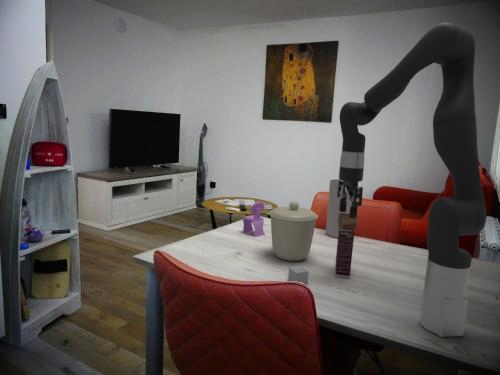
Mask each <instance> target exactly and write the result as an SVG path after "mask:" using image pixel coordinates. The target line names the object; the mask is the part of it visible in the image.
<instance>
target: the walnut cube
mask: <svg viewBox="0 0 500 375" xmlns="http://www.w3.org/2000/svg"><path fill="white" fill-rule="evenodd" d="M349 214H350V213H339V216H338V227H340V228H341V229H342V230H354V231H356V229H357V224H358V223H357V221H358V216H357V217H356V218H350V217H349Z"/></svg>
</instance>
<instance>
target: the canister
mask: <svg viewBox="0 0 500 375" xmlns="http://www.w3.org/2000/svg"><path fill="white" fill-rule="evenodd" d="M268 215H269V216H270V230H271V244H272V245H271V246H272V250H273V251H272V252H273V254H274V256H276V257H277V258H279V259H281V260H284V261H290V262H292V261H293V262H297V261H303V260H305V259H307V258H308V256H309V254H310V252H311V248H312V243H313V238H314V232H315V228H316V223H317V222H316V221H317V219H318V218H319V215H318V214H317V213H315V212H314V211H313V210H311V209H308V208H305V207H300V205H299V202H298V201H290V202H289V204H288V206H279V207H275V208H273V209H272V210H270V211H269V212H268Z"/></svg>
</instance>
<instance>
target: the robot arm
mask: <svg viewBox="0 0 500 375" xmlns="http://www.w3.org/2000/svg"><path fill="white" fill-rule="evenodd" d="M475 40H476V39H475V36H474V35H473V33H471V31H469V29H466V28H464V27H462V26H459V25H457V24H454V23H451V22H445V21H444V22H440V23H438V24H436V25H434V26H433V27H431V29H430V30H428V31H427V32H426V33H425V34H424V35H423V36H422V37H421V38H420V39H419V40H418V41H417V43H416V44H415V45H414V46H413V47H412V48H411V50H409V51H408V53H407V54H405V56H404V57H403V58H402V59H401V60H400V61H399V63H397V64H396V66H395V67H393V69H392V70H391V71H389V73H388V74H386V75H385V76H384V77H383V78H382V79H381V80H379V81H378V82H377V83H375V84H373V86H372V87H370V88H369V89H368V90H367V91H366V92H365V93H364V97H363V101H362V102H355V101H348V102H345V103H344V104H343V105H342V107H341V109H340V112H339V124H340V130H341V135H342V136H341V137H342V143H341V144H342V146H341V155H340V159H339V168H338V169H339V171H338V179H340V180H342V181H339V183H338V192H337V197H338V198H339V200H340V206H339V211H340V212H346V205H347V201H346V200H347V199H348V200H349V201H350V214H349V217H350V218H356V217H357V218H358V208H359V207H361V206H362V205H363V193H364V192H363V191H364V188H363V186H359V184H358V182H362V181H363V178H364V168H365V151H366V150H365V149H366V136H365V134H363V133H360V132H359V126H365V125H369V124H370V123H371V122H372V121H374V119H375V118H376V117H377V116H378V115H379V114H380V112H382V111H383V109H384V108H386V107H387V106H388V105H390V104H391V103H394V101H395V100H397V99H398V98H399V97H400V96H401V95H402V94H403V93H404V92H405V90H406V89H407V87H408V85H410V83H411V81H412V79H413V78H414V77H415V76H416V75H417V74H418V73H419V72H421V71H422V70H424V69H425V68H427V67H428V66H430V65H432V64H437V65H439V66H440V67H441V73H442V74H441V75H442V91H441V96H440V99H439V101H438V103H437V105H436V108H435V111H434V114H433V117H432V118H433V119H432V131H433V135H432V136H433V144H434V147H435V150H436V152H437V154H438V156H439V157H440V159H441V161H442V162H443V164H444V165H445V167H446V168H447V170H448V172H449V174H450V177H451V180H452V184H453V185H452V186H453V193H454V194H453V195H454V196H453V197H452V196H451V197H450V196H448V197H439V198H436V199H435V200H434V202H433V203H432V204H431V206H430V209H429V211H428V212H429V214H428V221H427V222H428V223H427V234H426V248H427V252H428V255H427V262H426V270H425V276H424V277H425V278H424V286H423V292H422V299H421V309H420V314H419V324H420V325H421V326H422V327H423V328H424V329H426V330H427V331H429V332H430V333H433V334H435V335H438V336H439V337H441V338H443V337H444V338H445V337H463V336H464V332H465V326H466V320H467V312H468V306H469V299H468V298H467V291H468V284H469V279H470V271H471V266H472V259H473V258H472V254H471V253H470V252H469V251H467V250H466V249H464V248H460V247H459V246H460V245H459V242H460V241H459V239H460V237H461V236H475V235H477V234H479V233H481V232H482V231H483V229H485V226H486V223H487V207H486V201H485V195H484V190H483V186H482V180H481V174H480V172H481V171H480V162H479V151H478V150H479V148H478V127H477V116H476V103H475V100H476V99H475V88H474V87H475V86H474V74H475V73H474V72H475V57H476V42H475ZM352 200H353V201H352Z"/></svg>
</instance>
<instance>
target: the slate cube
mask: <svg viewBox="0 0 500 375" xmlns="http://www.w3.org/2000/svg"><path fill="white" fill-rule="evenodd" d="M309 273H310V271H309V270H308V269H307V268H304V267H303V266H302V265H299V266H298V265H297V266H291V267H288V277H287V281H288V282H289V281H297V282H302V283H304V284H306V285H305V286H308V285H309Z"/></svg>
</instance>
